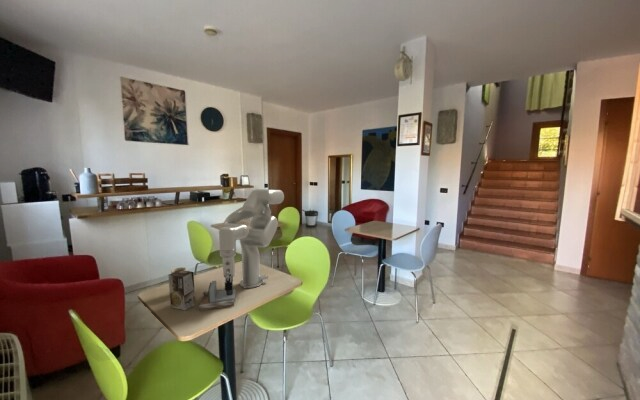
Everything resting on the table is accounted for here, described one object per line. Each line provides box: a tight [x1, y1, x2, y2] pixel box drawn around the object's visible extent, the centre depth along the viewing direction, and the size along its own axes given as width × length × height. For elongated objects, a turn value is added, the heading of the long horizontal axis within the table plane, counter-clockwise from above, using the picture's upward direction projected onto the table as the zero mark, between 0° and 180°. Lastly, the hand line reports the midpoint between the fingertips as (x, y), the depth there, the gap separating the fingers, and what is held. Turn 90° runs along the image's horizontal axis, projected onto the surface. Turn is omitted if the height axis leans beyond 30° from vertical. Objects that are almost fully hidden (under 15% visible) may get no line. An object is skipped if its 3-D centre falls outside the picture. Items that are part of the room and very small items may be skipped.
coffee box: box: [168, 270, 196, 311], centre depth 123 cm, size 9×6×16 cm
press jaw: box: [207, 275, 236, 303], centre depth 128 cm, size 12×11×12 cm
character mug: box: [170, 266, 190, 274], centre depth 135 cm, size 11×7×13 cm, turn 153°
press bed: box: [198, 287, 235, 312], centre depth 128 cm, size 15×15×2 cm
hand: (229, 286), depth 128 cm, fingers open, 9 cm apart
